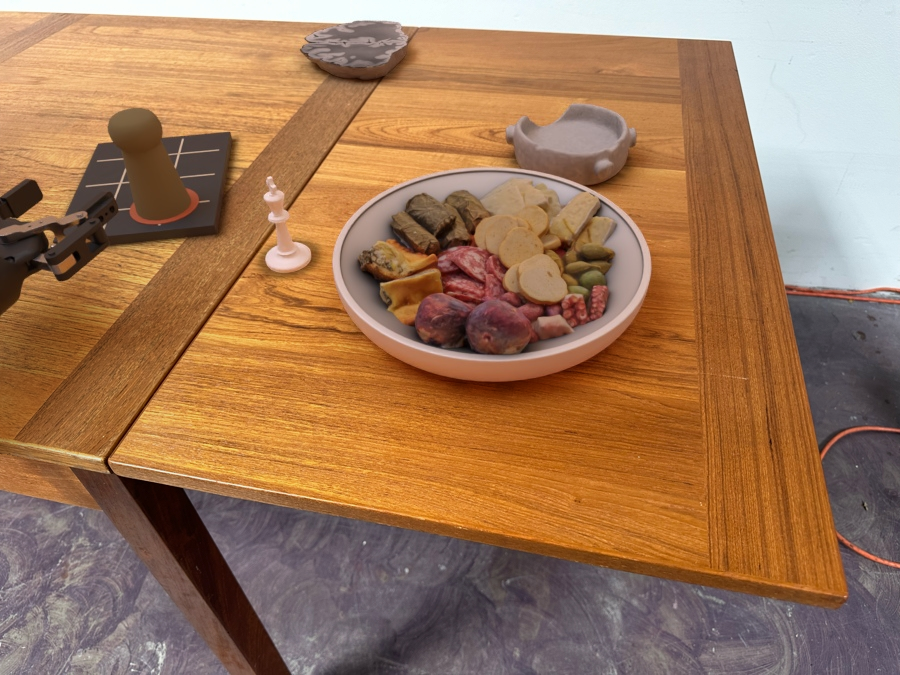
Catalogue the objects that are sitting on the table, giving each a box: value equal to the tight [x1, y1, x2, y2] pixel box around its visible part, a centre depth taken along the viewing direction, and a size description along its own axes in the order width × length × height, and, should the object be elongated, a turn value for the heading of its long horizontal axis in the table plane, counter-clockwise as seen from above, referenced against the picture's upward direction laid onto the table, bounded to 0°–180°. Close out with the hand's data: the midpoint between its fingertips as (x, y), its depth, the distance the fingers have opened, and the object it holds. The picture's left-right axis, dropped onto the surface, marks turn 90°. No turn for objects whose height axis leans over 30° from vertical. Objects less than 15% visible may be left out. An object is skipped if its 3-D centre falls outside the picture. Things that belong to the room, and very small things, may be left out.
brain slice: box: [299, 19, 410, 81], centre depth 107 cm, size 20×17×3 cm
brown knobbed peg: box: [107, 107, 191, 220], centre depth 72 cm, size 6×6×11 cm
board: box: [52, 131, 233, 246], centre depth 80 cm, size 17×22×2 cm
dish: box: [505, 102, 638, 186], centre depth 82 cm, size 14×14×5 cm
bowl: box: [331, 166, 652, 383], centre depth 64 cm, size 30×30×8 cm
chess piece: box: [263, 175, 312, 274], centre depth 67 cm, size 5×5×10 cm
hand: (73, 193), depth 63 cm, fingers open, 8 cm apart
